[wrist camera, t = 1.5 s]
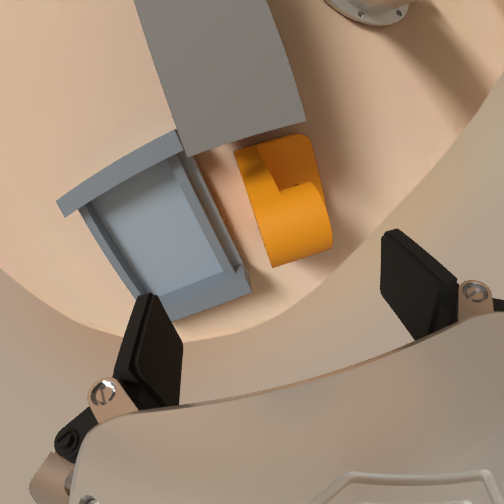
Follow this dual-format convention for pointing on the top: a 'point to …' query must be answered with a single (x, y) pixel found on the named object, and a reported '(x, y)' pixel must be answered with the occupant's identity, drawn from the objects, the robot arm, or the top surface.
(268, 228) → the bracket
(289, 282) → the top surface
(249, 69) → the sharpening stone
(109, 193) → the grey tray
